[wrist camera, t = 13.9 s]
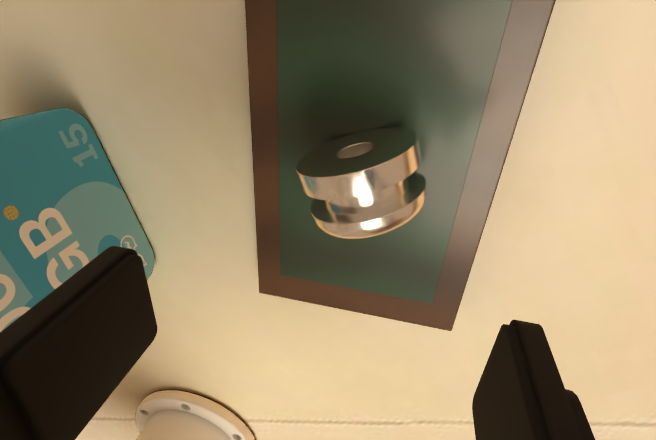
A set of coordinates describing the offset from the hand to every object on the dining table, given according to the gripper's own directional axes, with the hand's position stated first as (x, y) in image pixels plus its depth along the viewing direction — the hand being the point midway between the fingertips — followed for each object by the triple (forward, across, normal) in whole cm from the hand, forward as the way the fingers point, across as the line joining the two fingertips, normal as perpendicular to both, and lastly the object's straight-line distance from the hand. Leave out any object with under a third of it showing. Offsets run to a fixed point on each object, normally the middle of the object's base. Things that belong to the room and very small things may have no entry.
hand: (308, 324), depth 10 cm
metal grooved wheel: (+10, 0, -1) cm, 11 cm away
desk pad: (+12, 0, -1) cm, 13 cm away
